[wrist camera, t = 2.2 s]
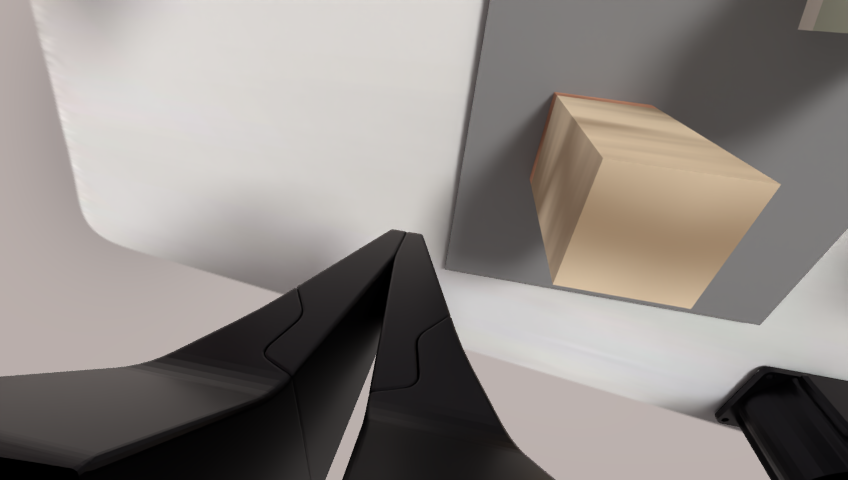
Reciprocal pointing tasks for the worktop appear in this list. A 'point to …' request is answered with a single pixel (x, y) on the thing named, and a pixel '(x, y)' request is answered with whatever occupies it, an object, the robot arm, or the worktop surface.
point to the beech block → (638, 201)
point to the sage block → (825, 16)
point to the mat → (680, 99)
